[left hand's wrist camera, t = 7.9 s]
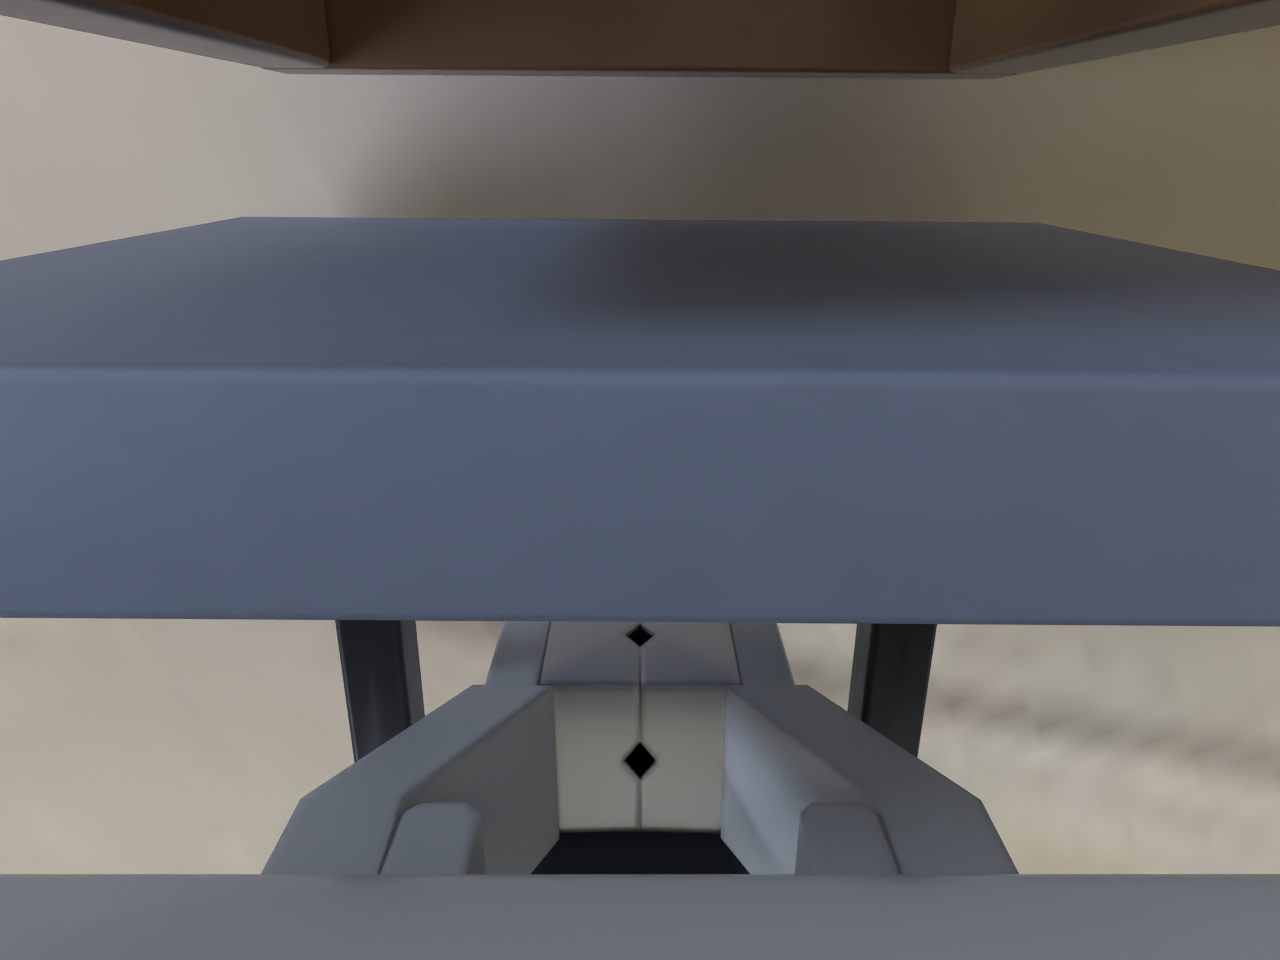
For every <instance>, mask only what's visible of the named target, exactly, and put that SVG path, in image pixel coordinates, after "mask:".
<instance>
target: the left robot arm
mask: <svg viewBox="0 0 1280 960" xmlns="http://www.w3.org/2000/svg"><path fill="white" fill-rule="evenodd" d="M640 818H641V832H670V833H709V834H721V839H722V840H723V841H724V842H725V844H726V845H727V846H728V847H729V849H730V850H731V851H732V852H733V853H734V855H735V856H736V857H737V858H738V860H739V861H740V862H741V863H742V865H743V866H744V867H745V868H746V869H747V871H748V872H749V873H750V874H531V873H532V872H533V870H534V869H535V868H536V867H537V865H538V864H539V863H540V862H541V861H542V859H543V858H544V857H545V856H546V854H547V853H548V852H549V851H550V850H551V848H552V847H553V846H554V845H555V843H556V842H557V841H558V840H559V833H594V832H640ZM0 960H1280V874H1019V873H1018V871H1017V869H1016V867H1015V865H1014V863H1013V861H1012V859H1011V857H1010V855H1009V853H1008V852H1007V850H1006V848H1005V846H1004V844H1003V842H1002V840H1001V838H1000V836H999V834H998V832H997V830H996V828H995V826H994V825H993V823H992V821H991V819H990V817H989V815H988V813H987V811H986V809H985V807H984V805H983V803H982V801H981V800H980V799H978V798H977V797H975V796H974V795H972V794H971V793H969V792H968V791H966V790H965V789H963V788H962V787H960V786H959V785H957V784H956V783H954V782H953V781H951V780H950V779H948V778H947V777H945V776H944V775H942V774H941V773H939V772H938V771H936V770H935V769H933V768H932V767H930V766H929V765H927V764H926V763H924V762H923V761H921V760H920V759H918V758H917V757H915V756H914V755H912V754H911V753H909V752H908V751H906V750H905V749H903V748H902V747H900V746H899V745H897V744H896V743H894V742H893V741H891V740H890V739H888V738H887V737H885V736H884V735H882V734H881V733H879V732H877V731H876V730H874V729H873V728H871V727H870V726H868V725H867V724H865V723H864V722H862V721H861V720H859V719H858V718H856V717H855V716H853V715H852V714H850V713H849V712H847V711H846V710H844V709H843V708H841V707H840V706H838V705H837V704H835V703H834V702H832V701H831V700H829V699H828V698H826V697H825V696H823V695H822V694H820V693H819V692H817V691H816V690H814V689H813V688H811V687H810V686H808V685H795V683H794V680H793V676H792V673H791V670H790V666H789V663H788V659H787V656H786V653H785V649H784V646H783V642H782V639H781V636H780V632H779V629H778V625H777V623H723V622H578V621H503V625H502V628H501V632H500V635H499V639H498V642H497V646H496V649H495V653H494V656H493V660H492V663H491V666H490V670H489V673H488V677H487V680H486V684H485V685H472V686H470V687H469V688H467V689H466V690H464V691H463V692H461V693H460V694H458V695H457V696H455V697H454V698H452V699H451V700H449V701H448V702H446V703H445V704H443V705H442V706H440V707H439V708H437V709H436V710H434V711H433V712H431V713H430V714H428V715H427V716H425V717H424V718H422V719H421V720H419V721H418V722H416V723H414V724H413V725H411V726H410V727H408V728H407V729H405V730H404V731H402V732H401V733H399V734H398V735H396V736H395V737H393V738H392V739H390V740H389V741H387V742H386V743H384V744H383V745H381V746H380V747H378V748H377V749H375V750H374V751H372V752H371V753H369V754H368V755H366V756H365V757H363V758H362V759H360V760H358V761H357V762H355V763H354V764H352V765H351V766H349V767H348V768H346V769H345V770H343V771H342V772H340V773H339V774H337V775H336V776H334V777H333V778H331V779H330V780H328V781H327V782H325V783H324V784H322V785H321V786H319V787H318V788H316V789H315V790H313V791H312V792H310V793H309V794H307V795H306V796H304V797H302V798H301V799H300V801H299V803H298V805H297V807H296V808H295V810H294V812H293V814H292V816H291V818H290V820H289V822H288V824H287V826H286V828H285V829H284V831H283V833H282V835H281V837H280V839H279V841H278V843H277V845H276V847H275V848H274V850H273V852H272V854H271V856H270V858H269V860H268V862H267V864H266V866H265V868H264V869H263V871H262V873H261V874H0Z"/></svg>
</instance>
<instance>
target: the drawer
mask: <svg viewBox="0 0 1280 960" xmlns="http://www.w3.org/2000/svg"><path fill="white" fill-rule="evenodd" d="M0 15H3V16H8V17H13V18H18V19H23V20H28V21H33V22H38V23H43V24H48V25H53V26H58V27H63V28H68V29H73V30H78V31H83V32H88V33H93V34H98V35H102V36H107V37H112V38H117V39H122V40H127V41H132V42H137V43H142V44H147V45H152V46H157V47H162V48H167V49H172V50H177V51H182V52H187V53H192V54H197V55H202V56H206V57H211V58H216V59H221V60H226V61H231V62H236V63H241V64H246V65H251V66H256V67H261V68H263V69H267V70H272V71H277V72H282V73H287V74H361V75H498V76H635V77H772V78H909V79H995V78H1000V77H1005V76H1011V75H1016V74H1020V73H1026V72H1031V71H1036V70H1042V69H1047V68H1052V67H1058V66H1063V65H1068V64H1074V63H1079V62H1084V61H1090V60H1095V59H1100V58H1106V57H1111V56H1116V55H1122V54H1127V53H1132V52H1138V51H1143V50H1148V49H1154V48H1159V47H1164V46H1170V45H1175V44H1180V43H1186V42H1191V41H1196V40H1202V39H1207V38H1212V37H1218V36H1223V35H1228V34H1234V33H1239V32H1244V31H1250V30H1255V29H1260V28H1266V27H1271V26H1276V25H1280V0H0ZM0 618H142V619H287V620H335V622H336V629H337V636H338V644H339V651H340V659H341V666H342V673H343V681H344V688H345V695H346V703H347V710H348V717H349V725H350V732H351V740H352V747H353V754H354V762H357V761H358V760H360V759H362V758H363V757H365V756H366V755H368V754H369V753H371V752H372V751H374V750H375V749H377V748H378V747H380V746H381V745H383V744H384V743H386V742H387V741H389V740H390V739H392V738H393V737H395V736H396V735H398V734H399V733H401V732H402V731H404V730H405V729H407V728H408V727H410V726H411V725H413V724H414V723H416V722H418V721H419V720H421V719H422V718H424V717H425V714H424V704H423V693H422V683H421V673H420V663H419V653H418V643H417V632H416V622H415V620H432V621H578V622H723V623H857V630H856V639H855V648H854V657H853V666H852V675H851V684H850V694H849V703H848V712H849V713H850V714H852V715H853V716H855V717H856V718H858V719H859V720H861V721H862V722H864V723H865V724H867V725H868V726H870V727H871V728H873V729H874V730H876V731H877V732H879V733H881V734H882V735H884V736H885V737H887V738H888V739H890V740H891V741H893V742H894V743H896V744H897V745H899V746H900V747H902V748H903V749H905V750H906V751H908V752H909V753H911V754H912V755H914V756H915V757H917V756H918V749H919V742H920V735H921V729H922V722H923V715H924V708H925V702H926V695H927V688H928V681H929V675H930V668H931V661H932V654H933V647H934V641H935V634H936V627H937V624H1014V625H1159V626H1280V271H1278V270H1273V269H1268V268H1263V267H1258V266H1252V265H1247V264H1242V263H1237V262H1232V261H1227V260H1222V259H1217V258H1212V257H1207V256H1202V255H1197V254H1192V253H1187V252H1182V251H1177V250H1172V249H1167V248H1162V247H1157V246H1152V245H1147V244H1141V243H1136V242H1131V241H1126V240H1121V239H1116V238H1111V237H1106V236H1101V235H1096V234H1091V233H1086V232H1081V231H1076V230H1071V229H1066V228H1061V227H1056V226H1051V225H1046V224H1041V223H1014V222H875V221H736V220H597V219H458V218H318V217H239V218H234V219H228V220H223V221H217V222H212V223H206V224H201V225H195V226H190V227H184V228H179V229H173V230H168V231H162V232H157V233H151V234H146V235H140V236H135V237H129V238H124V239H118V240H113V241H107V242H102V243H96V244H91V245H85V246H80V247H74V248H69V249H63V250H58V251H52V252H47V253H41V254H36V255H30V256H25V257H19V258H14V259H8V260H3V261H0ZM531 874H750V873H749V872H748V871H747V869H746V868H745V867H744V866H743V865H742V863H741V862H740V861H739V860H738V858H737V857H736V856H735V855H734V853H733V852H732V851H731V850H730V849H729V847H728V846H727V845H726V844H725V842H724V841H723V840H722V839H721V834H709V833H670V832H641V818H640V832H594V833H559V840H558V841H557V842H556V843H555V845H554V846H553V847H552V848H551V850H550V851H549V852H548V853H547V854H546V856H545V857H544V858H543V859H542V861H541V862H540V863H539V864H538V865H537V867H536V868H535V869H534V870H533V872H532V873H531Z"/></svg>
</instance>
